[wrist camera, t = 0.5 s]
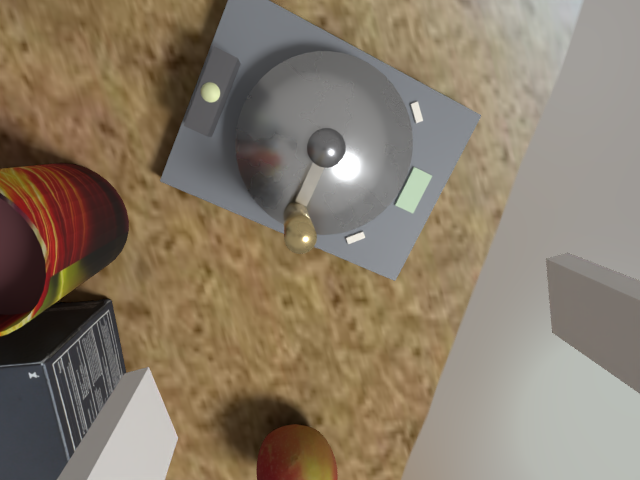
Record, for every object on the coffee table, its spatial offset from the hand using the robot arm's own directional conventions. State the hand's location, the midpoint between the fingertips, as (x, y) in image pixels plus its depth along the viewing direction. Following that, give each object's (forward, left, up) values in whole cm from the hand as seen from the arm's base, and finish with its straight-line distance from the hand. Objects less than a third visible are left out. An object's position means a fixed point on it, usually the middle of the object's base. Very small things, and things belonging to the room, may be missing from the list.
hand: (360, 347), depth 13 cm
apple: (+9, -22, -24) cm, 34 cm away
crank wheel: (-1, +6, -21) cm, 22 cm away
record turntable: (-1, +6, -23) cm, 24 cm away
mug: (-21, -9, -24) cm, 33 cm away
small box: (-13, -20, -24) cm, 34 cm away
